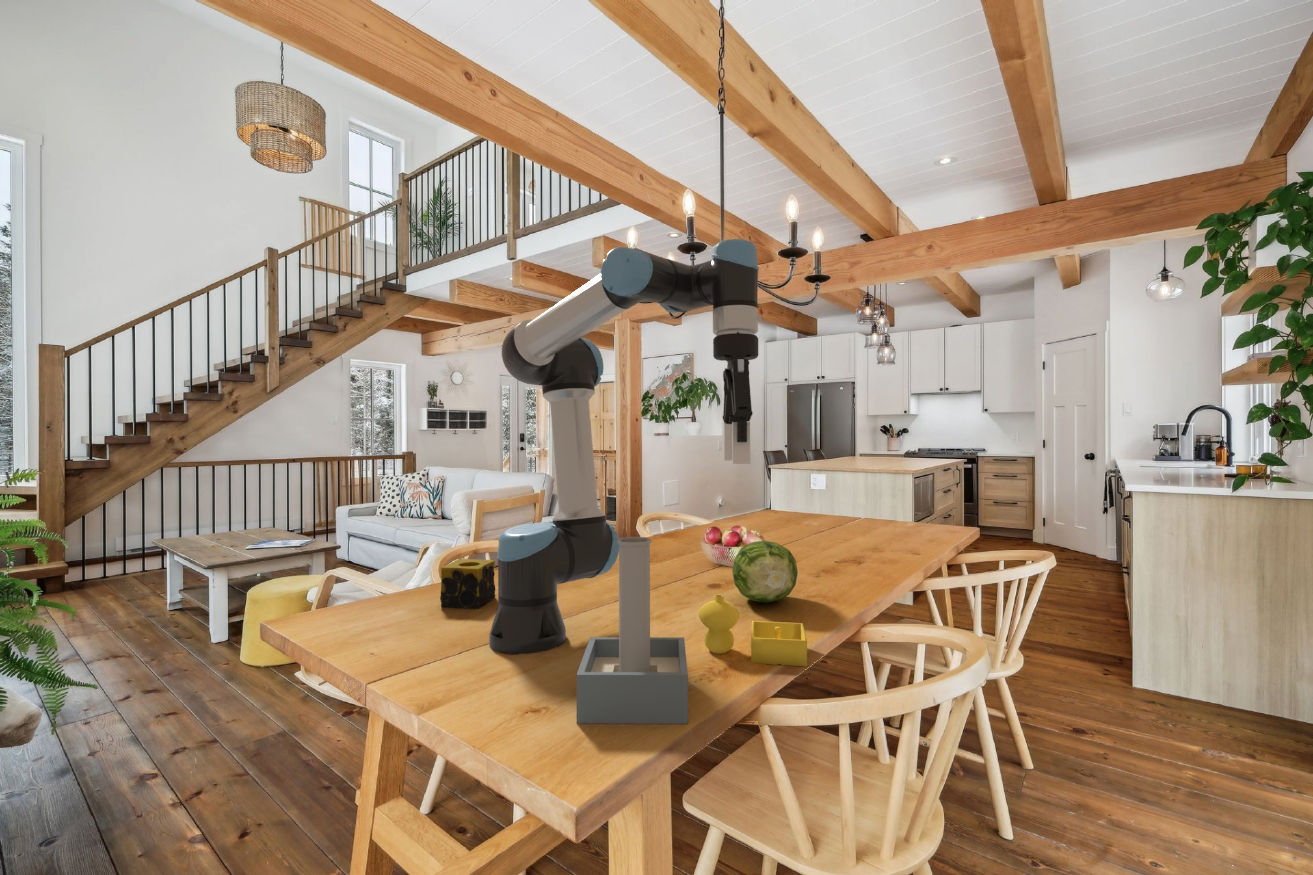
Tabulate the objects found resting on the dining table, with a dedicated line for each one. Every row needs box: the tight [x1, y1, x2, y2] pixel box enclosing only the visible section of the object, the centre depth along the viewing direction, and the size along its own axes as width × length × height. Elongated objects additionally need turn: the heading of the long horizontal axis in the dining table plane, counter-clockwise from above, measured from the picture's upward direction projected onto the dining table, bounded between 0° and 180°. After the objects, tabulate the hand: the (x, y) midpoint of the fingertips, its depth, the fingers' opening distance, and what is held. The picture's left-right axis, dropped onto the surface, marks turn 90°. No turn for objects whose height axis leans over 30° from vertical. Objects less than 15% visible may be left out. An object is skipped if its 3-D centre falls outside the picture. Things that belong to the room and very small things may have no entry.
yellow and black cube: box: [439, 558, 496, 610], centre depth 148 cm, size 10×10×10 cm
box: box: [575, 636, 689, 725], centre depth 94 cm, size 16×16×7 cm
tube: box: [617, 536, 652, 672], centre depth 94 cm, size 5×5×25 cm
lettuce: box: [732, 540, 799, 603], centre depth 146 cm, size 16×21×15 cm
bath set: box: [697, 594, 808, 668], centre depth 114 cm, size 20×10×11 cm, turn 80°
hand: (736, 462), depth 100 cm, fingers open, 13 cm apart
